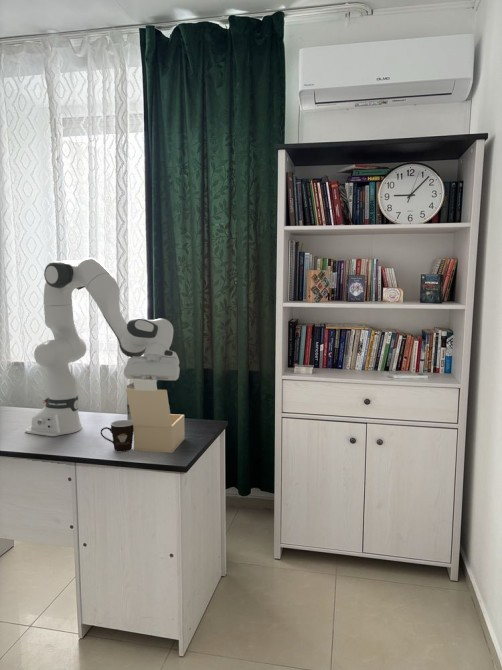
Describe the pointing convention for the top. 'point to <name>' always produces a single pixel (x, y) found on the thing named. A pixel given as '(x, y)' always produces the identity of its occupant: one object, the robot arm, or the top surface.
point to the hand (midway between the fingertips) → (147, 388)
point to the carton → (160, 436)
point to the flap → (148, 404)
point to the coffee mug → (121, 435)
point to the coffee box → (128, 403)
